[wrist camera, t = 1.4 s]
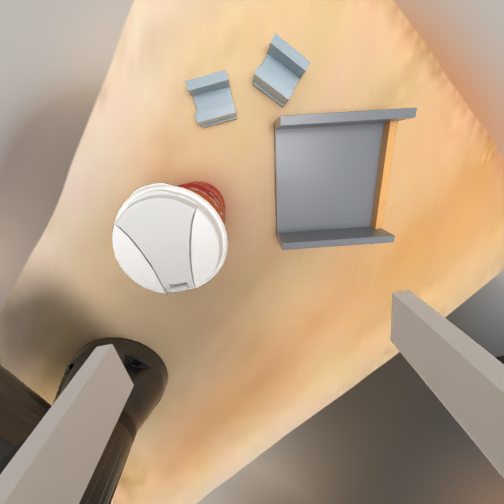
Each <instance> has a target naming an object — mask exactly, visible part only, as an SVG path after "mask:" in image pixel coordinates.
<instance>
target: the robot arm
mask: <svg viewBox="0 0 504 504" xmlns="http://www.w3.org/2000/svg"><path fill="white" fill-rule="evenodd" d="M391 341H392V342H393V344H394V345H395V346H396V347H397V349H398V350H399V351H400V352H401V353H402V355H403V356H404V357H405V358H406V360H407V361H408V362H409V363H410V364H411V366H412V367H413V368H414V369H415V370H416V372H417V373H418V374H419V375H420V377H421V378H422V379H423V380H424V382H425V383H426V384H427V385H428V386H429V388H430V389H431V390H432V391H433V393H434V394H435V395H436V396H437V397H438V399H439V400H440V401H441V402H442V403H443V405H444V406H445V407H446V408H447V410H448V411H449V412H450V413H451V415H452V416H453V417H454V418H455V419H456V421H457V422H458V423H459V424H460V426H461V427H462V428H463V429H464V430H465V432H466V433H467V434H468V435H469V436H470V438H471V439H472V440H473V441H474V443H475V444H476V445H477V446H478V448H479V449H480V450H481V451H482V452H483V454H484V455H485V456H486V457H487V459H488V460H489V461H490V462H491V463H492V465H493V466H494V467H495V468H496V469H497V471H498V472H499V473H500V474H501V476H502V477H503V478H504V356H500V357H494V356H492V355H491V354H490V353H489V352H487V351H486V350H485V349H484V348H482V347H481V346H480V345H478V344H477V343H476V342H475V341H473V340H472V339H470V337H468V336H467V335H466V334H465V333H463V332H462V331H461V330H460V329H458V328H457V327H456V326H454V325H453V324H452V323H451V322H449V321H448V320H447V319H446V318H444V317H443V316H442V315H441V314H439V313H438V312H437V311H435V310H434V309H433V308H432V307H430V306H429V305H428V304H427V303H425V302H424V301H423V300H422V299H420V298H419V297H418V296H416V295H415V294H414V293H413V292H411V291H410V290H406V291H401V292H395V293H392V317H391ZM1 363H2V362H1V361H0V364H1ZM166 383H167V370H166V367H165V365H164V363H163V362H162V360H161V359H160V358H159V357H158V356H157V355H156V354H155V353H154V352H153V351H152V350H150V349H149V348H147V347H145V346H144V345H142V344H139V343H137V342H134V341H131V340H126V339H120V338H107V339H100V340H97V341H94V342H91V343H89V344H87V345H86V346H84V347H83V348H82V349H81V350H80V351H79V352H78V353H77V354H76V355H75V357H74V358H73V359H72V360H71V362H70V363H69V365H68V366H67V368H66V371H65V374H64V377H63V379H62V381H61V384H60V387H59V389H58V392H57V395H56V397H55V400H54V403H53V405H52V406H51V405H50V404H49V403H47V402H46V401H45V400H44V399H42V398H41V397H40V396H39V395H37V394H36V393H35V392H34V391H33V390H31V389H30V388H29V387H28V386H26V385H25V384H24V383H23V382H21V381H20V380H19V379H18V378H16V377H15V376H14V375H13V374H11V373H10V372H9V371H8V370H6V369H5V368H4V367H3V366H1V365H0V504H111V501H112V498H113V495H114V493H115V490H116V487H117V485H118V482H119V479H120V476H121V474H122V471H123V468H124V466H125V463H126V460H127V457H128V455H129V452H130V449H131V446H132V444H133V441H134V438H135V436H136V433H137V431H138V430H139V428H140V427H141V426H142V424H143V423H144V422H145V420H146V419H147V417H148V416H149V415H150V413H151V412H152V410H153V409H154V408H155V406H156V405H157V404H158V402H159V401H160V399H161V397H162V395H163V392H164V389H165V386H166Z"/></svg>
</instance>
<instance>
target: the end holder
mask: <svg viewBox="0 0 504 504" xmlns="http://www.w3.org/2000/svg"><path fill="white" fill-rule="evenodd" d="M416 110H417V108H403V109H386V110H370V111H354V112H338V113H322V114H305V115H289V116H280V117H279V118H278V119H277V120H276V121H275V122H274V131H275V178H276V225H277V239H278V241H279V243H280V246H281V248H282V250H287V249H301V248H316V247H330V246H345V245H360V244H374V243H389V242H394V237H395V236H394V235H393V234H391V233H389V232H387V231H385V230H383V229H382V223H383V216H384V210H385V203H386V196H387V190H388V183H389V176H390V170H391V163H392V156H393V150H394V143H395V136H396V129H397V123H398V121H400V120H405V119H409V118H414V117H415V115H416Z"/></svg>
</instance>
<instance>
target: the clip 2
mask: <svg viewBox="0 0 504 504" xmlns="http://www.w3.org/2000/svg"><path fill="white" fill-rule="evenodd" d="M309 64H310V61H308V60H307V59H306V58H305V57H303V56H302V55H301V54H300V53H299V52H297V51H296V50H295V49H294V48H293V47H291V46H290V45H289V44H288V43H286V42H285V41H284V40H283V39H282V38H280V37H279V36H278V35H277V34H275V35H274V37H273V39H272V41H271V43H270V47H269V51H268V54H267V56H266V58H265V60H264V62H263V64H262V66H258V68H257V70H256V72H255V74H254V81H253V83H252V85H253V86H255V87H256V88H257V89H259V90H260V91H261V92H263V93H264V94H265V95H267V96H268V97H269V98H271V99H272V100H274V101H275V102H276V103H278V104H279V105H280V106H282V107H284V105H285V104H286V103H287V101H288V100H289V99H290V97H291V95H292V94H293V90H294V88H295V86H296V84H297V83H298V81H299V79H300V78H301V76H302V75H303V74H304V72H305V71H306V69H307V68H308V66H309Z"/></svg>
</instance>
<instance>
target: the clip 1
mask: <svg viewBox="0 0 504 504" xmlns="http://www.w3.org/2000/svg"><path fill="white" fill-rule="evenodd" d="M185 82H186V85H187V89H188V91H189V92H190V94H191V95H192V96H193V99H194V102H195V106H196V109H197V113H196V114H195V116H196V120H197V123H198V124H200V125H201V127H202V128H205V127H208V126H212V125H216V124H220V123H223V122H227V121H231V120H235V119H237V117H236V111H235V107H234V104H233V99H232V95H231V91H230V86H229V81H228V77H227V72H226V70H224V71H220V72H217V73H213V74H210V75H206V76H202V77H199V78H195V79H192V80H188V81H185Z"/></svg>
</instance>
